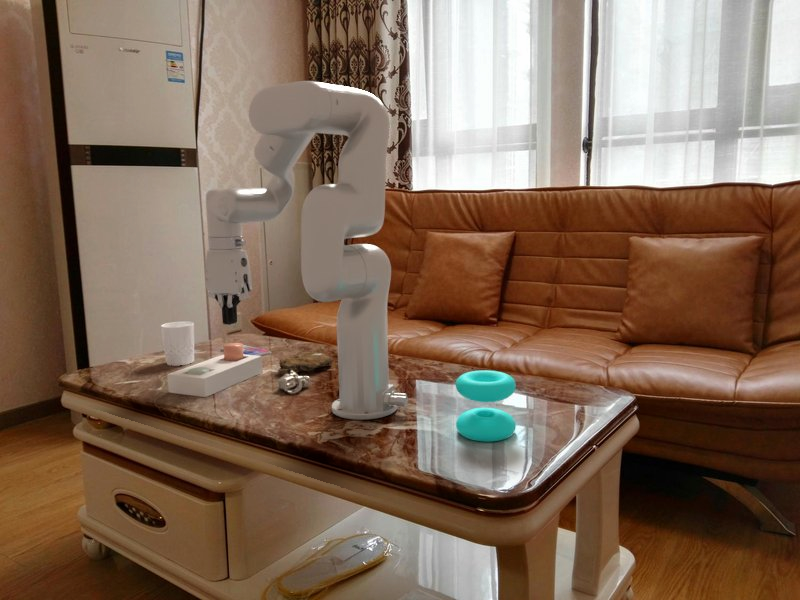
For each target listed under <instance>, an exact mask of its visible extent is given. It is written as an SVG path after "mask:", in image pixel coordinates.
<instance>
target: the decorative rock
mask: <svg viewBox="0 0 800 600" xmlns="http://www.w3.org/2000/svg"><path fill="white" fill-rule="evenodd" d="M333 361H334V359H333V358H332V356H330V355H327V354H325V353H322V352H315V351H314V352H313V351H300V352H298V353H296V354H293V355H291V356H289V357H283V358H281V359H279V363H278V364H279V369H278V371H277V373H280V375H282V376H284V375H285V374H287V373H288V374H291V373H290V371H294V372H295V373H296V374H297V373H299V372H310V371H314V369H317V368H321V367H331V366H332V365H333Z"/></svg>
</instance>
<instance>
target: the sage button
mask: <svg viewBox="0 0 800 600" xmlns="http://www.w3.org/2000/svg"><path fill="white" fill-rule="evenodd" d="M208 372H209V368H206V367H198V368H192V369H189V370H188V374H190V375H199V376H200V375H203V374H205V373H208Z"/></svg>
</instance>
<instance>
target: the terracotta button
mask: <svg viewBox="0 0 800 600" xmlns="http://www.w3.org/2000/svg"><path fill="white" fill-rule="evenodd" d="M243 345H244V344H243V343H242V342H230V343H225V344H223V347H222V348H223V350H224V351H223V354H224V361H233V362H237V361H239V360H242V359H244V356H243Z"/></svg>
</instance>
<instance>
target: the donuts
mask: <svg viewBox="0 0 800 600" xmlns="http://www.w3.org/2000/svg"><path fill="white" fill-rule="evenodd" d="M455 388H456V391H457V392H458V393H459V394H460V395H461V396H462V397H463V398H466V399H468V400H470V401H474V402H480V403H494V402H500V401H503V400H506V399H508V398H510V397H511V396H512V395H513V394H514V393H515V390H516V388H517V385H516V381H515V378H514V377H512V376H511V375H509V374H507V373H505V372H503V371H497V370H486V369H485V370H481V369H480V370H472V371H468V372H465V373H463V374H461V375H460V376H458V377H457V379H456V381H455ZM455 423H456V424H455V425H456V430H457V431H458V433H459V434H460V435H461V436H463V437H464V438H466V439H469V440H470V441H471V440H472V441H477V442H486V443H487V442H488V443H489V442H499V441H502V440H503V441H504V440H506V439H508V438H510V437H511V436H512V435H513V434H514V433H515V432H516V431H515V430H516V428H517V427H516V426H517V425H516V421H515V419H514V418H513V416H511V414H509V413H508V412H506V411H504V410H501V409H499V408H493V407H475V408H471V409H468V410H466V411H464V412H462V413H461V414H460V415H459V416H458V418H457V420H456V422H455Z"/></svg>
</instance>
